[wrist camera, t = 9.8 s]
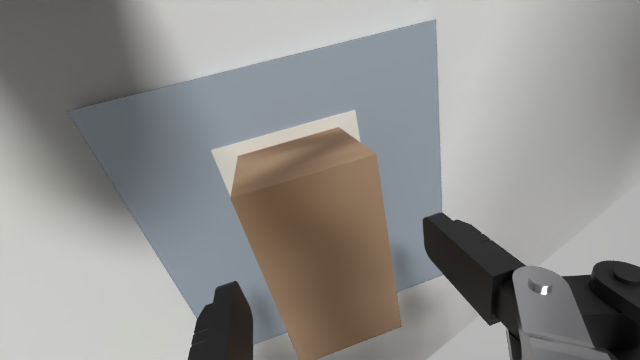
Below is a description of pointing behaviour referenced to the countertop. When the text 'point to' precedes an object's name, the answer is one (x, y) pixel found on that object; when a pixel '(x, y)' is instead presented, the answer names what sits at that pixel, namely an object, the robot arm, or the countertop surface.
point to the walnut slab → (320, 239)
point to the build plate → (265, 131)
